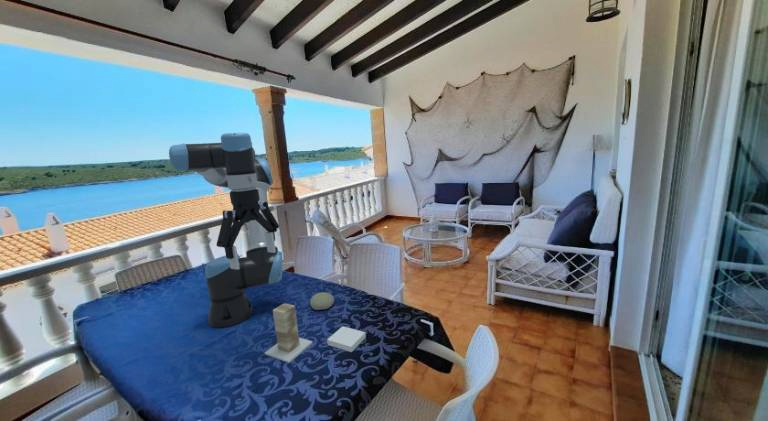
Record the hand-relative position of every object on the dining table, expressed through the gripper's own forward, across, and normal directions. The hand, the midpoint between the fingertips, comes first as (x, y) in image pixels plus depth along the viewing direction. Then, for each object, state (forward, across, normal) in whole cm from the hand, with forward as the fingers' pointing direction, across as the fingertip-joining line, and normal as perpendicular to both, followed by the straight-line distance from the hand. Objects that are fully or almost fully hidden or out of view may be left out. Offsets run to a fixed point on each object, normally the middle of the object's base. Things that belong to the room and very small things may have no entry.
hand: (254, 259), depth 89 cm
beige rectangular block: (+28, +1, -8) cm, 29 cm away
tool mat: (+28, +1, -8) cm, 30 cm away
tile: (+28, +10, -19) cm, 35 cm away
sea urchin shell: (+29, +27, -2) cm, 40 cm away
